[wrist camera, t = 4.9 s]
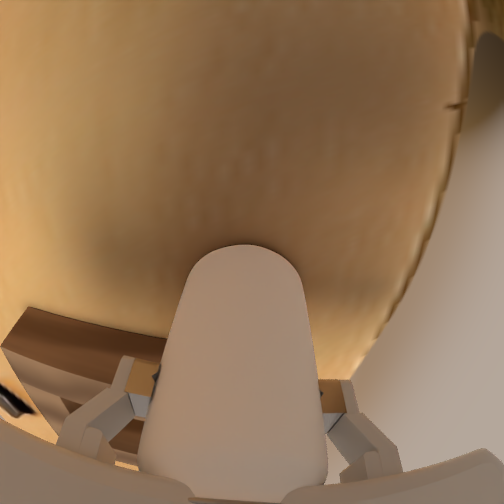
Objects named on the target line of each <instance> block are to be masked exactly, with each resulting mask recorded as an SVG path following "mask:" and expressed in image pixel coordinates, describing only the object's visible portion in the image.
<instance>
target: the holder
mask: <svg viewBox="0 0 504 504" xmlns="http://www.w3.org/2000/svg"><path fill="white" fill-rule="evenodd" d="M166 343H167V339H161V338H156V337H150V336H145V335H140V334H135V333H130V332H125V331H121V330H116V329H111V328H107V327H103V326H98V325H94V324H90V323H86V322H82V321H78V320H74V319H70V318H66V317H63V316H59V315H55V314H52V313H48V312H45V311H41V310H38V309H35V308H31V307H28V308H27V309H26V310H25V312H24V313H23V314H22V316H21V317H20V319H19V320H18V321H17V323H16V324H15V325H14V327H13V328H12V330H11V331H10V333H9V334H8V335H7V337H6V338H5V340H4V341H3V343H2V344H1V346H0V347H1V349H2V351H3V353H4V355H5V356H6V358H7V360H8V362H9V364H10V365H11V367H12V369H13V371H14V372H15V374H16V376H17V377H18V379H19V381H20V382H21V384H22V385H23V387H24V389H25V390H26V392H27V393H28V395H29V396H30V398H31V399H32V401H33V402H34V404H35V405H36V407H37V408H38V409H39V411H40V412H41V414H42V415H43V416H44V418H45V419H46V420H47V422H48V423H49V424H50V426H51V427H52V428H53V430H54V431H55V432H56V433H57V435H58V436H59V434H60V432H61V429H62V426H63V424H64V421H65V418H66V417H67V416H68V415H70V414H71V413H73V412H74V411H75V410H77V409H78V408H80V407H81V406H82V405H84V404H85V403H87V402H88V401H89V400H91V399H92V398H93V397H95V396H96V395H98V394H99V393H100V392H102V391H103V390H104V389H106V388H111V385H112V382H113V380H114V377H115V374H116V371H117V369H118V366H119V363H120V361H121V358H122V357H123V356H124V355H125V356H130V357H134V358H138V359H143V360H147V361H152V362H157V363H161V359H162V356H163V353H164V349H165V346H166ZM144 422H145V418H144V417H139V416H135V417H134V418H133V419H132V420H131V421H130V422H129V423H128V424H127V425H126V426H125V427H124V428H123V429H122V430H121V431H120V432H119V433H118V434H117V435H115V436H114V437H113V438H112V439H111V440H110V441H109V442H108V443H109V445H110V446H111V448H112V449H113V451H114V452H115V454H116V461H119V462H123V463H127V464H131V465H135V466H138V463H137V455H138V448H139V443H140V438H141V434H142V430H143V426H144Z"/></svg>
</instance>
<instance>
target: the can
mask: <svg viewBox="0 0 504 504" xmlns="http://www.w3.org/2000/svg"><path fill="white" fill-rule="evenodd" d="M320 398H321V396H320V391H319V385H318V374H317V367H316V361H315V354H314V348H313V341H312V335H311V329H310V323H309V317H308V311H307V306H306V300H305V295H304V290H303V285H302V282H301V279H300V277H299V274H298V273H297V271H296V270H295V268H294V267H293V266H292V265H291V264H290V263H289V262H288V261H287V260H286V259H285V258H283V257H282V256H281V255H279V254H277V253H275V252H273V251H271V250H269V249H266V248H263V247H260V246H255V245H234V246H228V247H224V248H220V249H217V250H215V251H212V252H210V253H208V254H207V255H205V256H204V257H202V258H201V259H200V260H199V261H198V262H197V263H196V264H195V265H194V267H193V268H192V270H191V272H190V274H189V276H188V278H187V281H186V284H185V287H184V290H183V292H182V295H181V298H180V301H179V304H178V307H177V311H176V314H175V317H174V320H173V323H172V326H171V330H170V333H169V336H168V339H167V343H166V346H165V349H164V353H163V356H162V359H161V367H160V371H159V375H158V378H157V380H156V382H155V390H154V394H153V397H152V401H151V403H150V404H149V406H148V410H147V414H146V418H145V422H144V426H143V430H142V434H141V438H140V443H139V448H138V455H137V463H138V468H139V471H140V472H144V473H148V474H153V475H158V476H163V477H168V478H172V479H175V480H178V481H180V482H182V483H184V484H185V485H187V486H188V487H189V488H190V489H191V491H192V492H193V494H194V495H195V497H193V498H192V497H190V498H188V501H189V502H191V503H195V504H281V503H280V502H281V501H282V500H283V498H284V497H285V496H286V495H287V494H288V493H289V492H291V491H292V490H295V489H297V488H300V487H304V486H317V485H324V483H325V480H326V477H327V474H328V458H327V446H326V437H325V427H324V419H323V414H322V407H321V400H320Z"/></svg>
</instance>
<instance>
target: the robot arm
mask: <svg viewBox="0 0 504 504" xmlns="http://www.w3.org/2000/svg"><path fill="white" fill-rule="evenodd" d="M160 367H161V363H157V362H152V361H147V360H143V359H138V358H134V357H130V356H125V355H124V356H123V357H122V358H121V361H120V363H119V366H118V369H117V371H116V374H115V377H114V380H113V382H112V385H111V388H106V389H104V390H103V391H102V392H100V393H99V394H98V395H96V396H95V397H93V398H92V399H91V400H89V401H88V402H87V403H85V404H84V405H82V406H81V407H80V408H78V409H77V410H75V411H74V412H73V413H71V414H70V415H68V416H67V417H66V418H65V421H64V424H63V426H62V429H61V432H60V434H59V437H58V440H57V443H56V445H55V444H52V443H50V442H48V441H45V440H43V439H41V438H39V437H36V436H34V435H32V434H30V433H28V432H26V431H24V430H22V429H20V428H18V427H16V426H14V425H12V424H10V423H8V422H6V421H4V420H2V419H1V418H0V504H195V503H191V502H189V501H188V498H190V497H192V498H193V497H195V495H194V494H193V492H192V491H191V489H190V488H189V487H188V486H187V485H185V484H184V483H182V482H180V481H178V480H175V479H172V478H168V477H163V476H158V475H153V474H148V473H144V472H139V471H135V470H131V469H127V468H123V467H119V466H116V465H115V460H116V454H115V452H114V451H113V449H112V448H111V446H110V445H109V443H108V442H109V441H110V440H111V439H112V438H113V437H114V436H115V435H117V434H118V433H119V432H120V431H121V430H122V429H123V428H124V427H125V426H126V425H127V424H128V423H129V422H130V421H131V420H132V419H133V418H134V417H135V416H139V417H144V418H146V414H147V410H148V406H149V404H150V403H151V401H152V397H153V394H154V390H155V382H156V380H157V378H158V375H159V371H160ZM318 385H319V391H320V396H321V398H320V400H321V407H322V414H323V419H324V427H325V434H327V435H328V437H329V438H330V440H331V441H332V442H333V443H334V445H335V446H336V448H337V449H338V450H339V452H340V453H341V454H342V456H343V457H344V458H345V459H346V461H347V462H348V463H349V466H348V467H347V468H346V469H344V470H343V471H342V472H341V473H340V482H341V483H339V484H329V485H317V486H304V487H300V488H297V489H295V490H292V491H291V492H289V493H288V494H287V495H286V496H285V497H284V498H283V500H282V501H281V502H280V503H281V504H504V465H503V463H502V462H501V461H500V460H499V459H498V458H497V457H496V456H495V455H493V454H492V453H491V452H490V451H488V450H487V449H484V448H481V449H478V450H475V451H472V452H470V453H467V454H464V455H462V456H459V457H456V458H453V459H450V460H447V461H444V462H440V463H437V464H434V465H430V466H427V467H423V468H419V469H416V470H412V471H408V472H403V470H402V466H401V461H400V457H399V453H398V449H397V446H396V445H394V443H393V442H392V441H390V440H389V439H388V438H387V437H386V436H385V435H384V434H383V433H382V432H381V431H380V430H379V429H378V428H377V427H376V426H375V425H374V424H373V423H372V422H371V421H370V420H369V419H368V418H367V417H366V416H365V415H364V414H363V413H359V409H358V404H357V401H356V397H355V393H354V389H353V385H352V382H351V380H338V379H318Z"/></svg>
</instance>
